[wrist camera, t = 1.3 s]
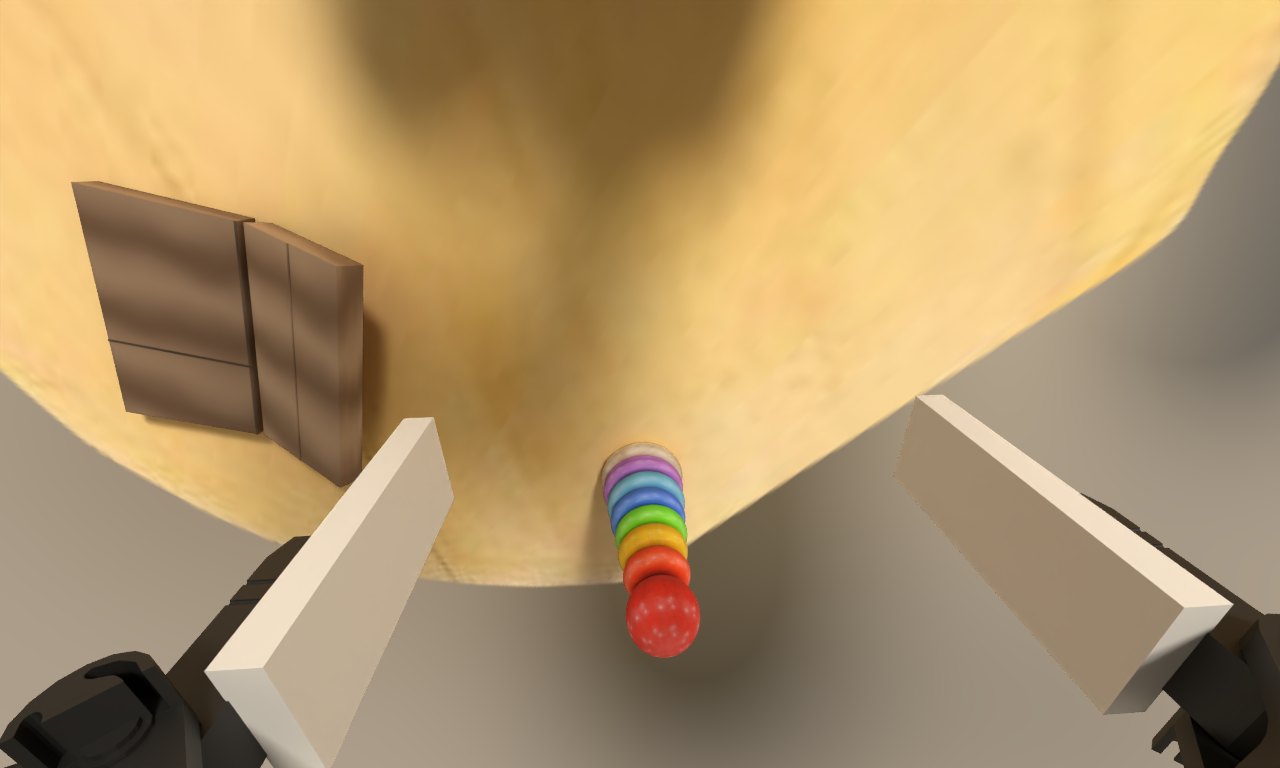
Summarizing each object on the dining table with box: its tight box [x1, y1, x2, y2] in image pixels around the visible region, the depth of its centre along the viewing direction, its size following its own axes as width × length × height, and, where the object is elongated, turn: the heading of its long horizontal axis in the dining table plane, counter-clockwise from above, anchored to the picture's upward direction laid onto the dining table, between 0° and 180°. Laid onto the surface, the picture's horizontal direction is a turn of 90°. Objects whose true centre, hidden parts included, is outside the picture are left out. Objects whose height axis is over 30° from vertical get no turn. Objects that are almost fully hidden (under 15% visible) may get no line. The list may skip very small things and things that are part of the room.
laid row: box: [71, 181, 264, 434], centre depth 36 cm, size 18×10×2 cm, turn 166°
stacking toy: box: [602, 442, 700, 658], centre depth 37 cm, size 8×8×19 cm
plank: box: [243, 222, 363, 488], centre depth 35 cm, size 18×10×2 cm
